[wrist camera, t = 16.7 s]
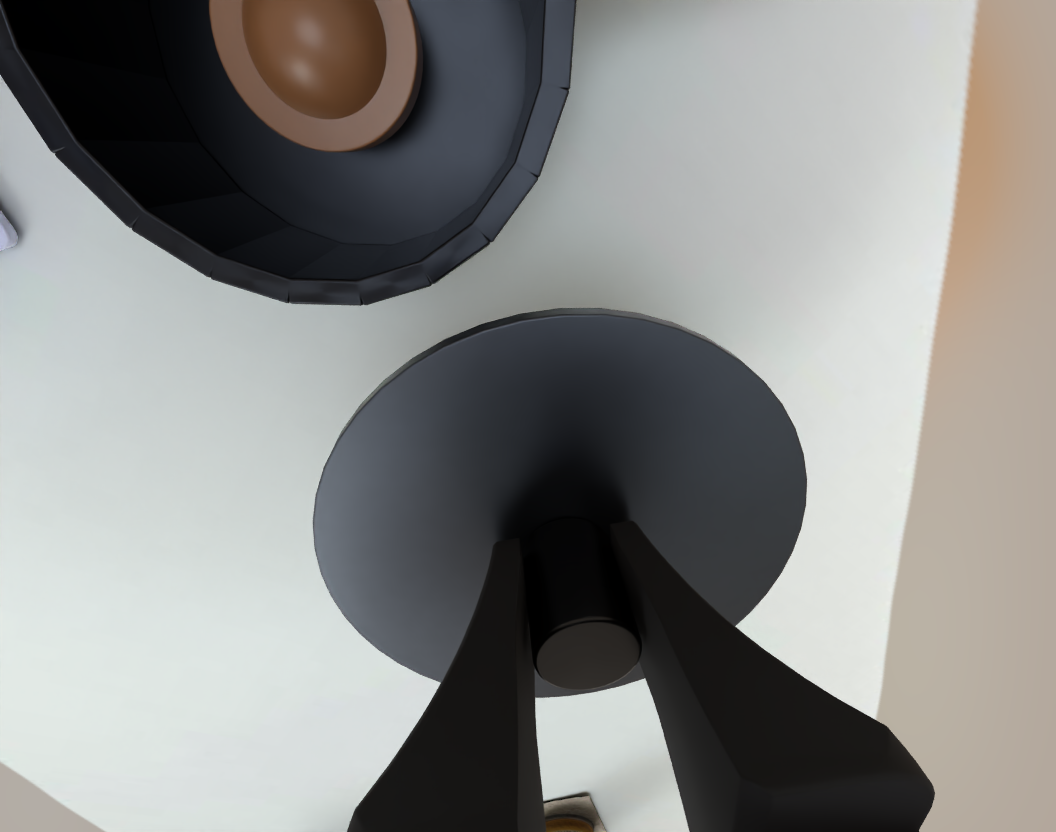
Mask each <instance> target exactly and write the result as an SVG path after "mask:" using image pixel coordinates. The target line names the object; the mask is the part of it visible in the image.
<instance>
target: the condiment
mask: <svg viewBox="0 0 1056 832" xmlns="http://www.w3.org/2000/svg"><path fill="white" fill-rule="evenodd" d="M544 814H545V823H546V832H606V830H605V829H604V826H603V824H602V822H601V820H600V818H599V816H598V815H597V812H596V810H595V807H594V805H593V804H592V802H591V799H590V797H589V796H585V797H580V798H578V797H574V798H569V799H564V800H560V801H552V802H548V803H544Z"/></svg>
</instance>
